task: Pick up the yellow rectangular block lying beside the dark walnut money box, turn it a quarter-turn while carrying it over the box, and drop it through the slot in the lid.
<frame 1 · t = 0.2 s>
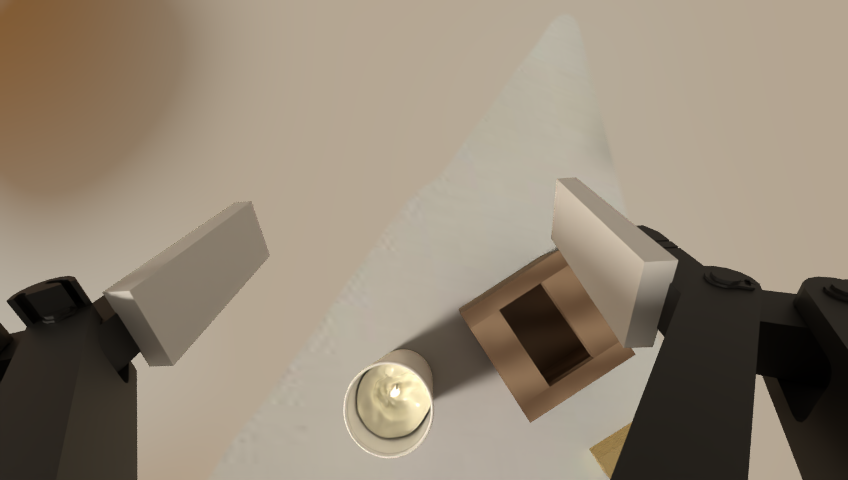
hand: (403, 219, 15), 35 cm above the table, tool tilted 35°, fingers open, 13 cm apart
yellow rectangular block: (617, 444, 45), on the table
money box: (528, 324, 48), on the table
candle holder: (403, 378, 48), on the table
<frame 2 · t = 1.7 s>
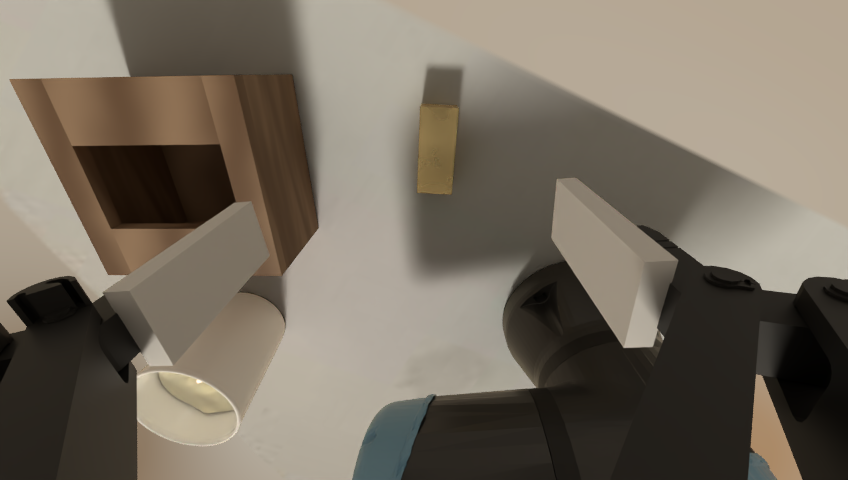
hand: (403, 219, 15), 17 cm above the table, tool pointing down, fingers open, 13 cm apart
yellow rectangular block: (436, 145, 30), on the table
money box: (232, 159, 31), on the table
candle holder: (251, 319, 40), on the table
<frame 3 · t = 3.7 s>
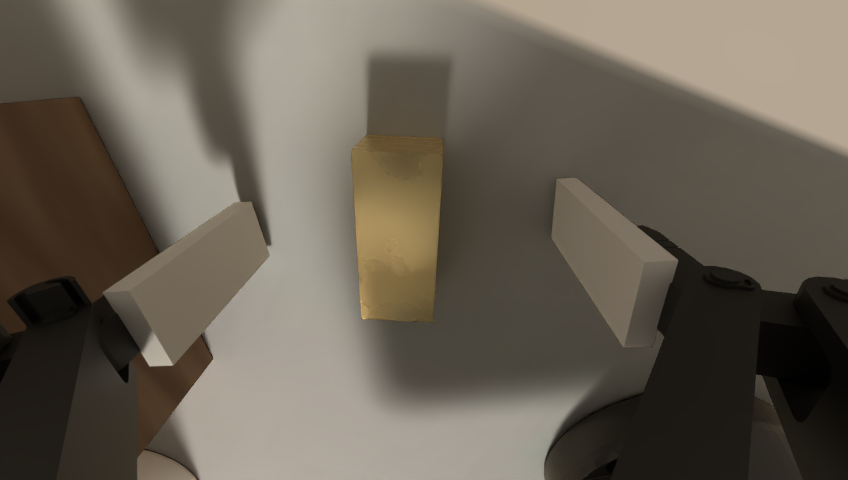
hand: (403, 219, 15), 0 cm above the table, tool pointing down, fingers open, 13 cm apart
yellow rectangular block: (404, 215, 15), on the table
money box: (26, 262, 17), on the table
candle holder: (148, 476, 26), on the table
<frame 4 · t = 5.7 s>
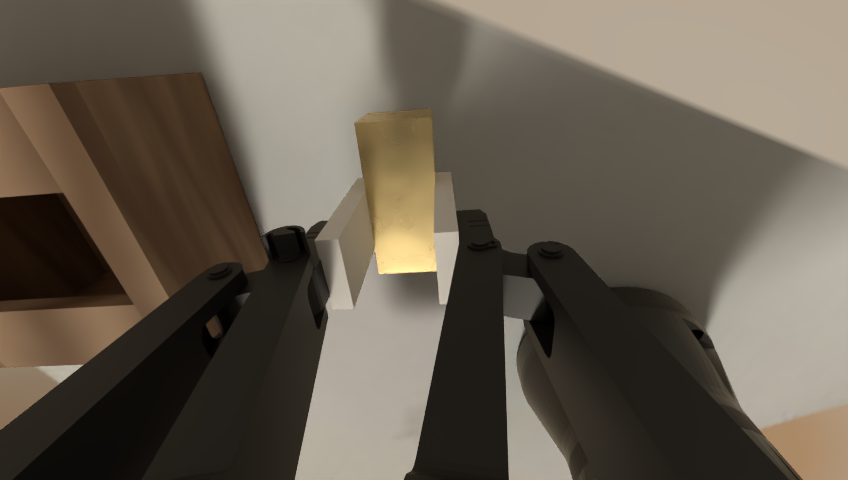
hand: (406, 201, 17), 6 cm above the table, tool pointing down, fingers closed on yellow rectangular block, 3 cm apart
yellow rectangular block: (407, 183, 17), point 5 cm above the table, touching gripper
money box: (146, 192, 24), on the table
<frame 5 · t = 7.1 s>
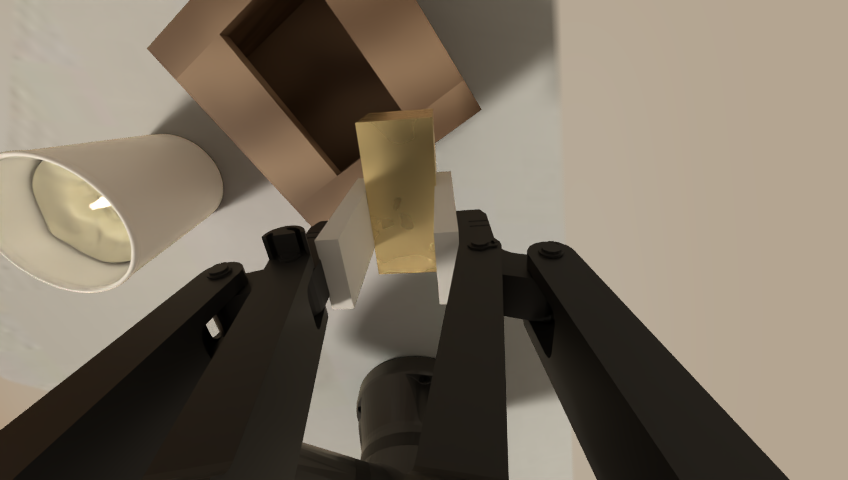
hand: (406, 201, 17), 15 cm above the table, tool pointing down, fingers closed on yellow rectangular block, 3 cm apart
yellow rectangular block: (407, 183, 17), point 14 cm above the table, touching gripper
money box: (351, 78, 28), on the table
candle holder: (181, 177, 32), on the table
when the fingers open (11 cm above the table, at t = 8.9 s): yellow rectangular block drops 9 cm, resting on money box.
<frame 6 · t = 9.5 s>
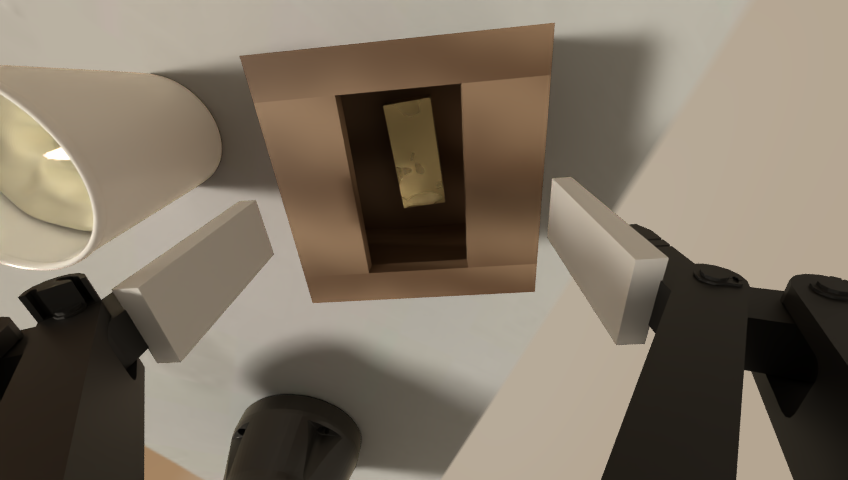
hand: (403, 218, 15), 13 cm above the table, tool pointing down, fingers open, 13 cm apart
yellow rectangular block: (418, 147, 25), resting on money box
money box: (417, 152, 26), on the table
candle holder: (170, 133, 26), on the table
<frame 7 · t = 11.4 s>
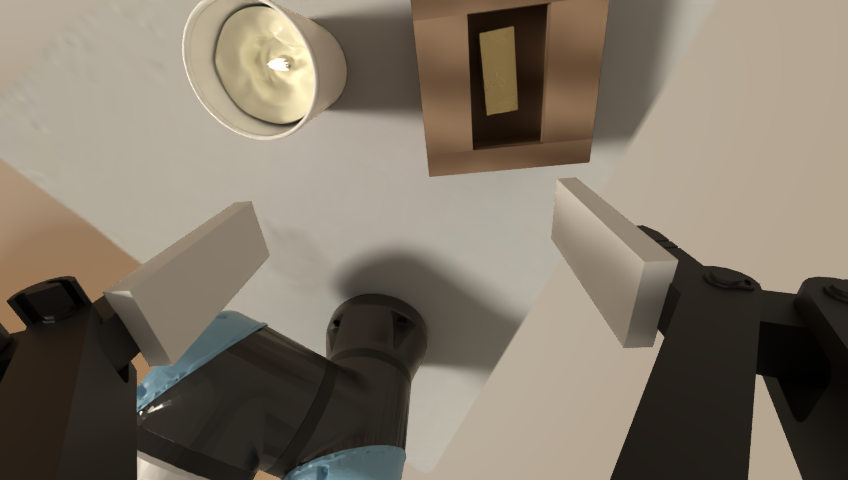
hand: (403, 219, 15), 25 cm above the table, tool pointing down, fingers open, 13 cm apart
yellow rectangular block: (495, 72, 34), resting on money box
money box: (493, 77, 35), on the table
candle holder: (308, 67, 35), on the table
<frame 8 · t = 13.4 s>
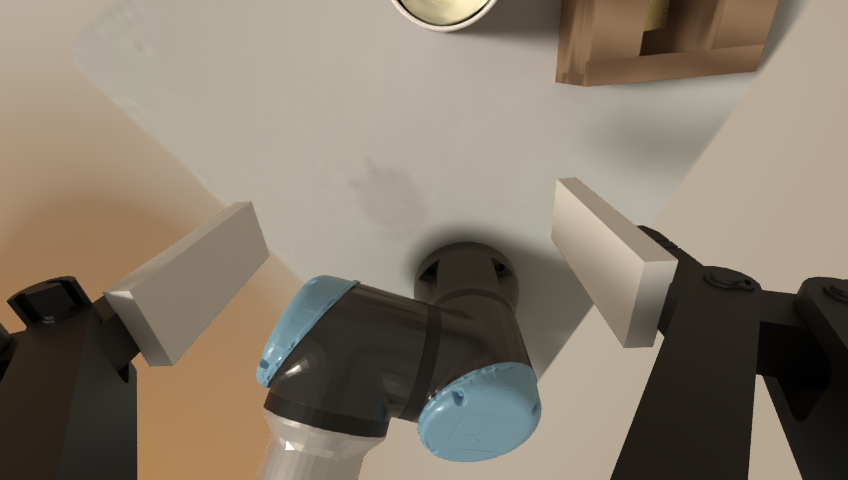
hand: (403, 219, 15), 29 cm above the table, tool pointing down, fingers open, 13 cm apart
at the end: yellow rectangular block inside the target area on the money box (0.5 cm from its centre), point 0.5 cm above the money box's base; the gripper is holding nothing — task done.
